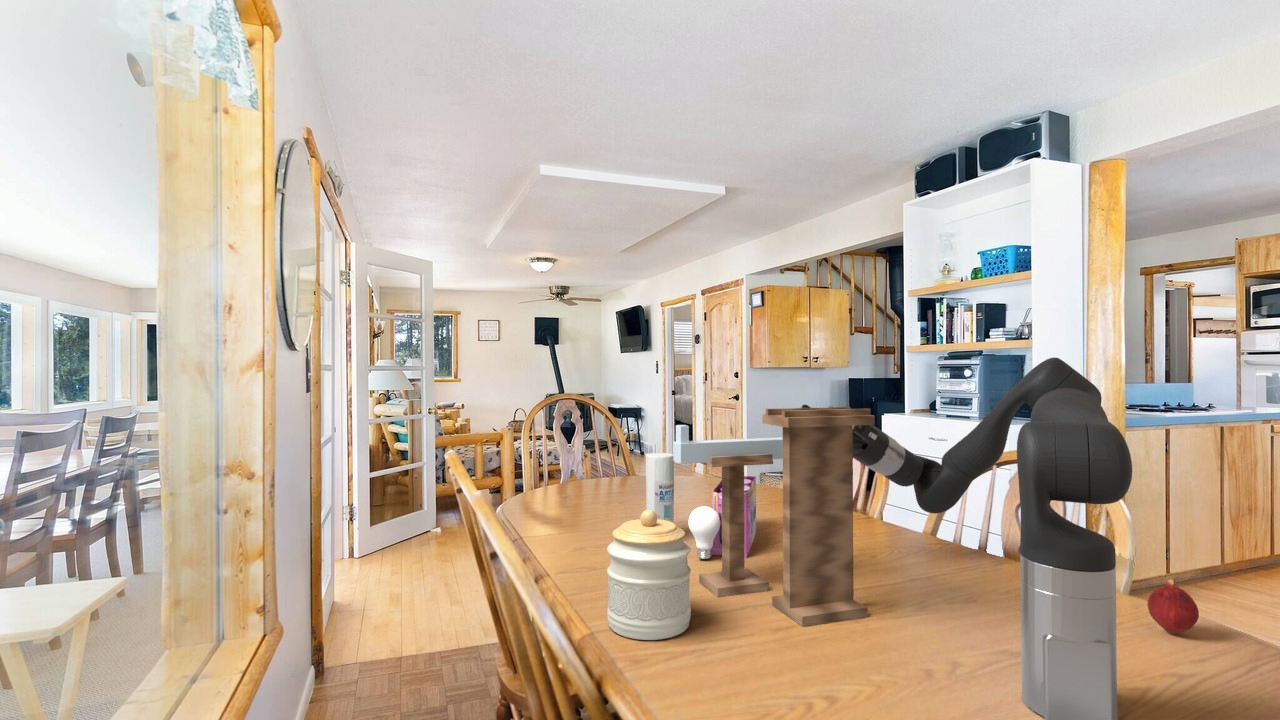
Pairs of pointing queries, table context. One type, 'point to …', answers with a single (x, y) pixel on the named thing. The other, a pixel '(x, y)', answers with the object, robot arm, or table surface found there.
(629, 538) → the jar
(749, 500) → the gum box
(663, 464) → the spray can
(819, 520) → the shelf stand
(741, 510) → the rest post
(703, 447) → the hook bar
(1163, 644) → the table surface
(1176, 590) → the onion
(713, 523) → the light bulb
